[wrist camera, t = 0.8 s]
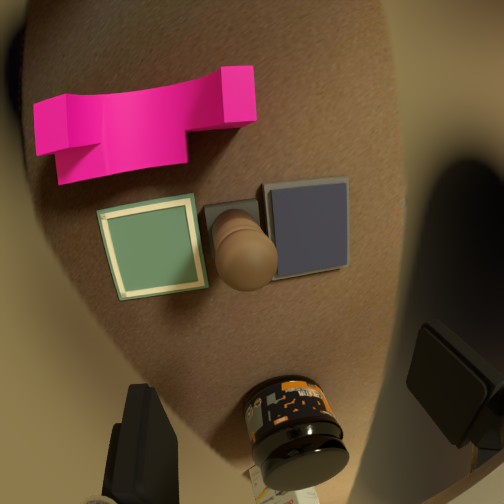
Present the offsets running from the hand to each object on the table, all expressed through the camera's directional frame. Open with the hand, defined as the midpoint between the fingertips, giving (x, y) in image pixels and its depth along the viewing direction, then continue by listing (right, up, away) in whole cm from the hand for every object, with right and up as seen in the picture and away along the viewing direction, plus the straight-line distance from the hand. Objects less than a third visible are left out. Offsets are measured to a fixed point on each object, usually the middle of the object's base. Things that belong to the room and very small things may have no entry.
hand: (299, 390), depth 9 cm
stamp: (-3, +7, +18) cm, 20 cm away
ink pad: (+4, +7, +19) cm, 21 cm away
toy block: (-10, +15, +15) cm, 23 cm away
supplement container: (+2, -15, +27) cm, 31 cm away
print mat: (-11, +5, +18) cm, 21 cm away
